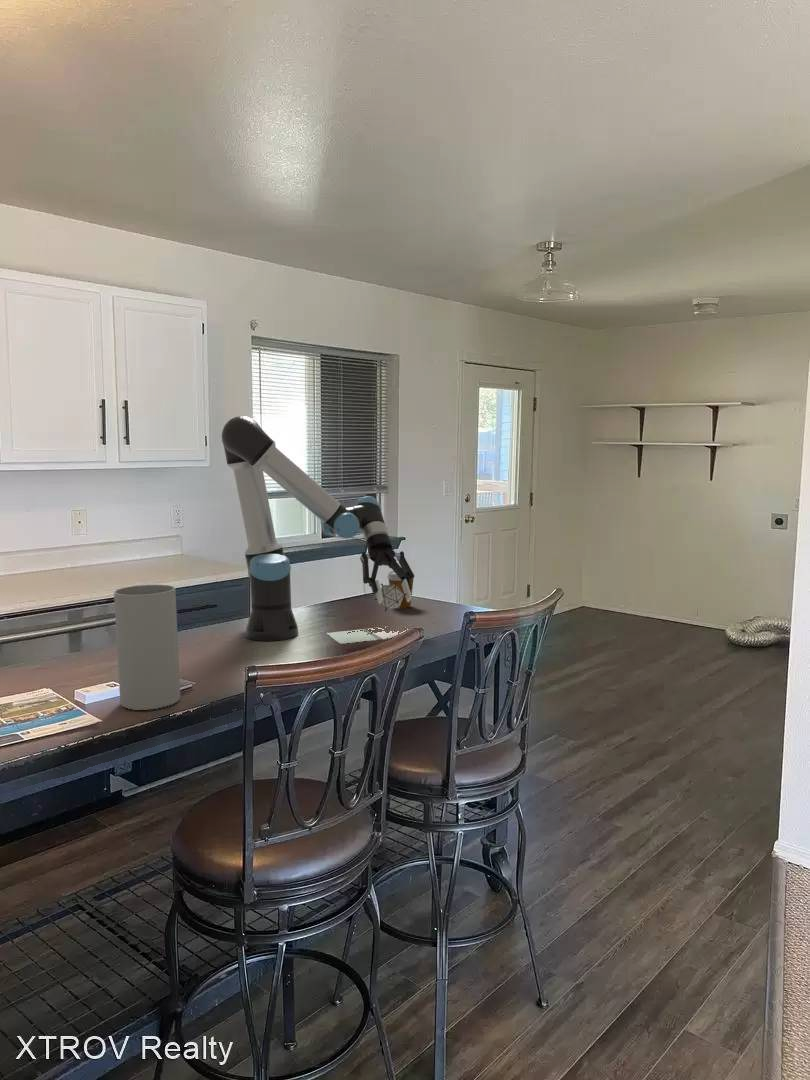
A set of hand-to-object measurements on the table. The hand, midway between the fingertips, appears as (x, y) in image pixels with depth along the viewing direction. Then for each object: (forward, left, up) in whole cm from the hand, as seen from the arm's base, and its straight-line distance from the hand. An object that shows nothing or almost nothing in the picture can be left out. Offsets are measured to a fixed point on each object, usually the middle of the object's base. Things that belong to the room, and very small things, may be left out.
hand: (395, 600), depth 228 cm
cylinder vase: (-71, -35, -10) cm, 80 cm away
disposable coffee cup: (+17, +37, -10) cm, 42 cm away
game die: (0, +3, -4) cm, 5 cm away
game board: (-6, +3, -10) cm, 12 cm away
